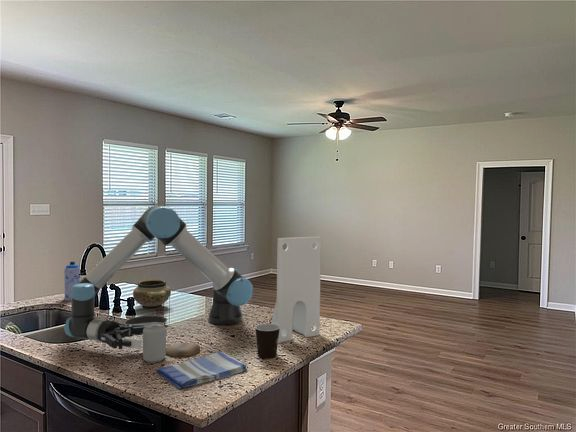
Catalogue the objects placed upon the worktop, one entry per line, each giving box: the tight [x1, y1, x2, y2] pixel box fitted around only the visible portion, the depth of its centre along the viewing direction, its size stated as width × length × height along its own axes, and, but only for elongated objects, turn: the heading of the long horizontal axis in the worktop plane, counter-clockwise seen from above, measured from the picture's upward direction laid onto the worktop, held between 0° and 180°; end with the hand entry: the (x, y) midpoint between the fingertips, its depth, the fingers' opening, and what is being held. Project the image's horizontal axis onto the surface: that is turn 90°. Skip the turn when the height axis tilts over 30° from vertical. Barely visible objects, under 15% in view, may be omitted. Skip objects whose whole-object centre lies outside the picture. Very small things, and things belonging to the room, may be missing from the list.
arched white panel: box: [270, 236, 322, 344], centre depth 172 cm, size 20×14×40 cm
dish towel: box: [156, 351, 248, 391], centre depth 133 cm, size 17×24×3 cm
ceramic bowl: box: [132, 279, 172, 311], centre depth 211 cm, size 24×18×15 cm
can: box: [142, 322, 167, 364], centre depth 142 cm, size 8×8×12 cm
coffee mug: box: [254, 323, 280, 360], centre depth 149 cm, size 12×9×10 cm
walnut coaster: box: [166, 342, 201, 358], centre depth 151 cm, size 12×12×1 cm
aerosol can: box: [64, 261, 81, 301], centre depth 227 cm, size 8×8×20 cm
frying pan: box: [123, 315, 168, 326], centre depth 173 cm, size 18×32×4 cm, turn 23°
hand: (154, 338), depth 142 cm, fingers open, 13 cm apart
